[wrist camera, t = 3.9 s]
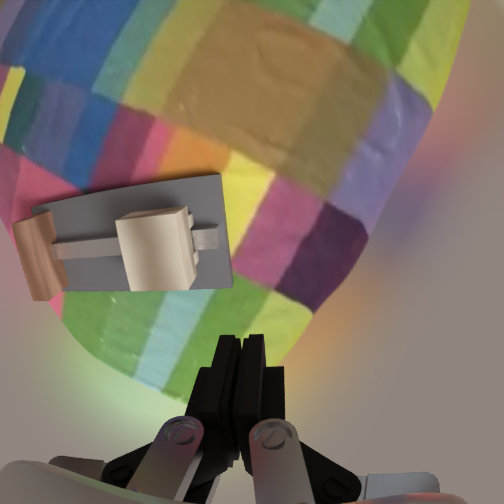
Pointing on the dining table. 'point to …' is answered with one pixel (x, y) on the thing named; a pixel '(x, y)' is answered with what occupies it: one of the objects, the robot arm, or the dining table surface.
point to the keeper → (158, 249)
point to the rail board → (135, 201)
